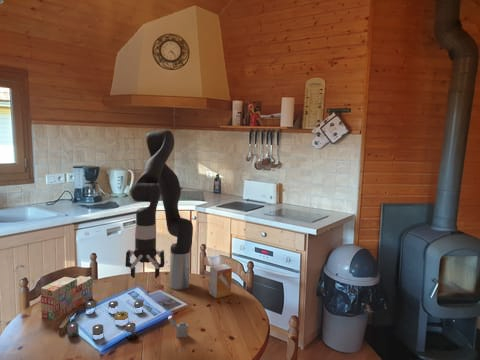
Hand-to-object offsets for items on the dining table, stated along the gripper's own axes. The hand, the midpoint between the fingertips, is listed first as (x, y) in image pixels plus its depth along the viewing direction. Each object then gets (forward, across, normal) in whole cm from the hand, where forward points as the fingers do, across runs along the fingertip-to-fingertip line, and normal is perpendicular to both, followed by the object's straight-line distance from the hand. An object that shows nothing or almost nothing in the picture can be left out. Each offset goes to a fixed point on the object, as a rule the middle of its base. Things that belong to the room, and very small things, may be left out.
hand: (145, 277), depth 141 cm
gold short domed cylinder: (+18, +9, 0) cm, 20 cm away
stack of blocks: (+19, +33, -13) cm, 40 cm away
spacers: (+18, +14, +1) cm, 23 cm away
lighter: (+18, -14, +10) cm, 25 cm away
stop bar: (+18, +28, 0) cm, 34 cm away
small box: (+18, -30, -25) cm, 43 cm away
